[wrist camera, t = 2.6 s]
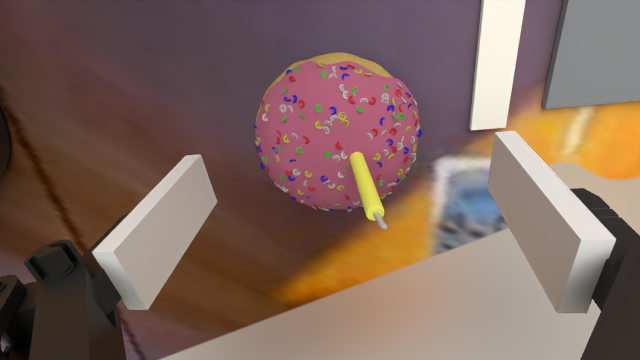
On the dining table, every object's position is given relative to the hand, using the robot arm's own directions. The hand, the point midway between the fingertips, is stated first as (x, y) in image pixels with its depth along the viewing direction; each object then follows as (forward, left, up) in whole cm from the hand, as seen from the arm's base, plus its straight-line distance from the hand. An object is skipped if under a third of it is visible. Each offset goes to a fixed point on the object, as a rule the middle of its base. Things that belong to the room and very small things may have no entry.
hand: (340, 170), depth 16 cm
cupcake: (0, 0, -8) cm, 8 cm away
